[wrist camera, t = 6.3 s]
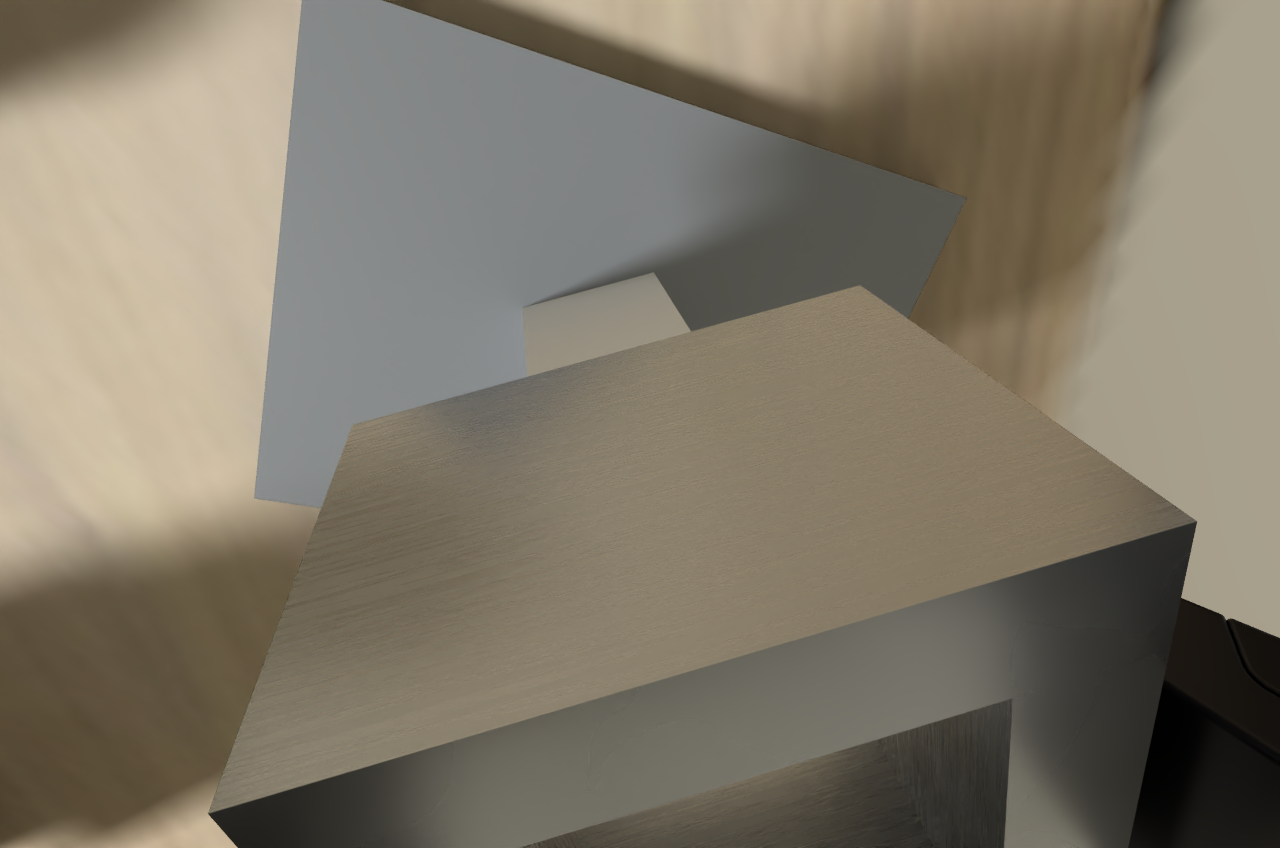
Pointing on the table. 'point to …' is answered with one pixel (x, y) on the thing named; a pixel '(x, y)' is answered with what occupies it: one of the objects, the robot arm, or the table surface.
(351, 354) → the base plate
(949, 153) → the table surface
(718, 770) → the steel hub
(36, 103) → the table surface
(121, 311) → the table surface
